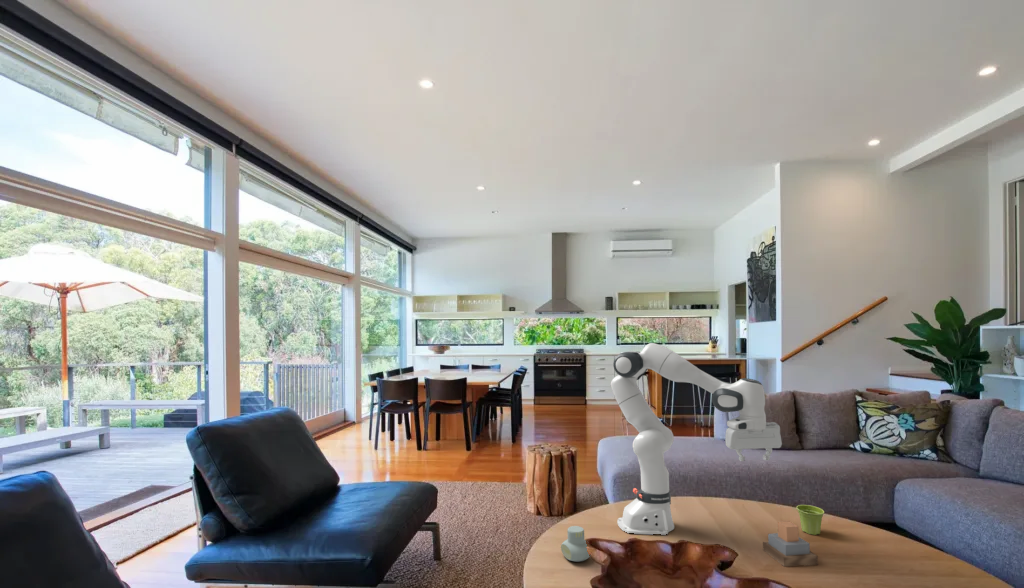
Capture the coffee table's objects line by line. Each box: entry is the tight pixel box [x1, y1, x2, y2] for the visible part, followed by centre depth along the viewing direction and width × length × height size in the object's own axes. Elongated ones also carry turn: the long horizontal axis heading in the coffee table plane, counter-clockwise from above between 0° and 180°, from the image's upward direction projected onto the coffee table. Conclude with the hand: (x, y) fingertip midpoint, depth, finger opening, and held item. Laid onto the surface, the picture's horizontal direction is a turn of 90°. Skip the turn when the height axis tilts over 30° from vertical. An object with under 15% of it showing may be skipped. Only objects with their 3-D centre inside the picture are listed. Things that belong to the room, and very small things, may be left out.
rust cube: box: [777, 520, 800, 542], centre depth 172 cm, size 4×4×5 cm
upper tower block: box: [767, 532, 811, 556], centre depth 172 cm, size 9×9×4 cm
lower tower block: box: [762, 541, 819, 567], centre depth 172 cm, size 12×12×4 cm
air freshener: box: [560, 525, 591, 563], centre depth 173 cm, size 11×8×10 cm
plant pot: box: [796, 504, 825, 536], centre depth 192 cm, size 9×9×9 cm
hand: (754, 460), depth 182 cm, fingers open, 8 cm apart
